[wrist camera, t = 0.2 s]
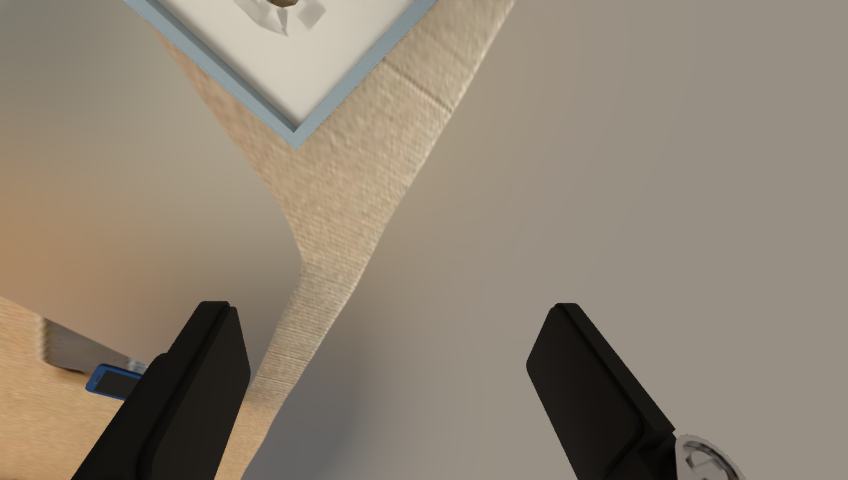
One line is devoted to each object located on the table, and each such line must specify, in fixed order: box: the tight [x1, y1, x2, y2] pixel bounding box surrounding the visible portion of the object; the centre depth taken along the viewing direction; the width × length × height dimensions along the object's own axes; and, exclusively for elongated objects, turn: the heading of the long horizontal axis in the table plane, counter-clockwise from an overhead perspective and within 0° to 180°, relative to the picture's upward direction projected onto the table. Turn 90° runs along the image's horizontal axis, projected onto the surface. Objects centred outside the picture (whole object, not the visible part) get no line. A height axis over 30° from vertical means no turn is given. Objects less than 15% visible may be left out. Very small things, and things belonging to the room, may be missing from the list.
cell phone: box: [85, 364, 143, 401], centre depth 53 cm, size 7×14×1 cm, turn 48°
